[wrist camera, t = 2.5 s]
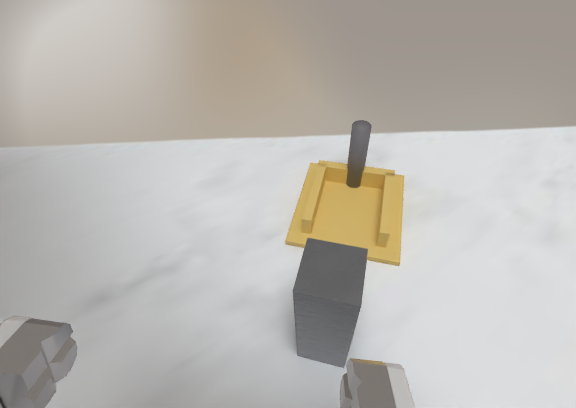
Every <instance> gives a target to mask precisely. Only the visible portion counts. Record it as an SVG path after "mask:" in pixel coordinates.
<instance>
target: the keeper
mask: <svg viewBox="0 0 576 408" xmlns="http://www.w3.org/2000/svg"><path fill="white" fill-rule="evenodd" d="M370 132H371V124H370V123H369V122H367V121H363V120H360V121H356V122H354V123H353V124H352V132H351V140H350V148H349V157H348V164H343V163H336V162H329V161H321V160H319V163H318V164H317V163H311V164H310V167H309V170H308V173H307V176H306V179H305V182H304V185H303V188H302V191H301V195H300V198H299V201H298V204H297V207H296V210H295V213H294V216H293V219H292V223H291V226H290V229H289V232H288V235H287V238H286V244H288V245H293V246H298V247H303V248H305V245H306V241H307V238H312V239H318V240H323V241H328V242H334V243H339V244H345V245H350V246H355V247H361V248H366V249H368V253H367V260H371V261H376V262H381V263H387V264H392V265H397V266H399V264H400V252H401V231H402V209H403V188H404V176H403V175H396V174H395V170H387V169H380V168H373V167H365V162H366V156H367V150H368V144H369V138H370Z"/></svg>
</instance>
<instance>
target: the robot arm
mask: <svg viewBox="0 0 576 408" xmlns="http://www.w3.org/2000/svg"><path fill="white" fill-rule="evenodd" d="M72 332H73V331H72V328H71V325H70V324H67V323H60V322H53V321H46V320H39V319H33V318H26V317H18V316H12V317H11V318H9V319H7V320H5V321H4V322H3V323H2V324H1V325H0V408H45V407H46V406H47V404H48V403H49V401H50V400H51V398H52V397H53V395H54V394H55V392H56V382H58V381H59V380H61V379H62V378H64V377H65V376H67V374H68V373H69V371H70V369H71V368H72V366H73V364H74V361H75V358H76V356H77V345H76V342H75V341H74V340H73V339H72V338H71V337H70V335H71V333H72ZM346 367H347V373H346V374H344V375H343V377H342V380H341V385H340V408H415V406H414V402H413V399H412V395H411V392H410V389H409V385H408V382H407V378H406V375H405V371H404V368H403V367H402V365H400V364H392V363H383V362H379V361H370V360H361V359H352V358H350V359H349V360H348V363H347V365H346Z"/></svg>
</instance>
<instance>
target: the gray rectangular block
mask: <svg viewBox="0 0 576 408" xmlns="http://www.w3.org/2000/svg"><path fill="white" fill-rule="evenodd" d="M367 253H368V249H366V248H361V247H355V246H350V245H345V244H339V243H334V242H328V241H323V240H318V239H312V238H307V241H306V245H305V248H304V252H303V256H302V259H301V263H300V267H299V270H298V274H297V278H296V282H295V285H294V289H293V300H294V313H295V327H296V340H297V354H298V356H300V357H304V358H308V359H312V360H316V361H320V362H323V363H327V364H331V365H335V366H339V367H343V368H344V366H345V362H346V359H347V355H348V351H349V348H350V344H351V341H352V337H353V333H354V330H355V326H356V323H357V319H358V315H359V312H360V308H361V302H362V294H363V286H364V278H365V270H366V262H367Z"/></svg>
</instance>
